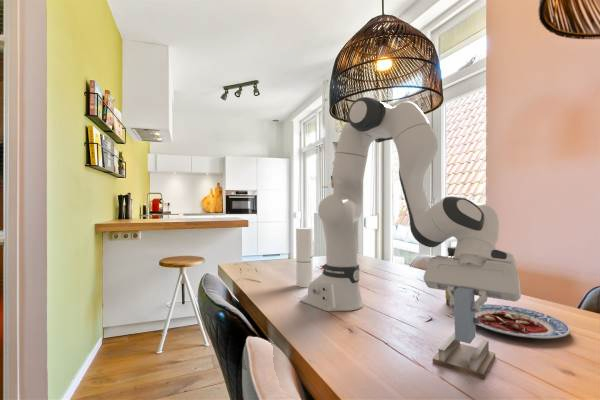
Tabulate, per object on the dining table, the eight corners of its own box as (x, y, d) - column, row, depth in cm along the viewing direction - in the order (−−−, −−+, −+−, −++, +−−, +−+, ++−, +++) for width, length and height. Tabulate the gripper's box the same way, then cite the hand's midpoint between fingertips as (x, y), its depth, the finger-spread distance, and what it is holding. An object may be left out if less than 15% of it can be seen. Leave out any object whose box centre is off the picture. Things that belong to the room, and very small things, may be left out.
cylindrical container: (315, 284, 138) (315, 228, 138) (307, 288, 132) (307, 229, 132) (302, 282, 142) (301, 227, 142) (293, 286, 136) (292, 228, 136)
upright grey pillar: (455, 340, 70) (453, 290, 70) (461, 333, 74) (460, 286, 74) (475, 345, 68) (473, 293, 68) (480, 337, 71) (479, 289, 72)
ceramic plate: (532, 354, 74) (532, 341, 74) (443, 318, 98) (443, 308, 98) (591, 335, 84) (591, 324, 84) (498, 306, 108) (497, 298, 108)
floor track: (432, 362, 70) (432, 347, 70) (449, 344, 79) (448, 330, 79) (483, 379, 63) (483, 361, 63) (495, 357, 72) (494, 341, 72)
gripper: (427, 247, 84) (414, 292, 76) (521, 254, 70) (515, 310, 62) (433, 262, 87) (421, 306, 79) (524, 271, 73) (519, 326, 66)
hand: (463, 308), depth 71 cm, fingers closed on upright grey pillar, 3 cm apart
